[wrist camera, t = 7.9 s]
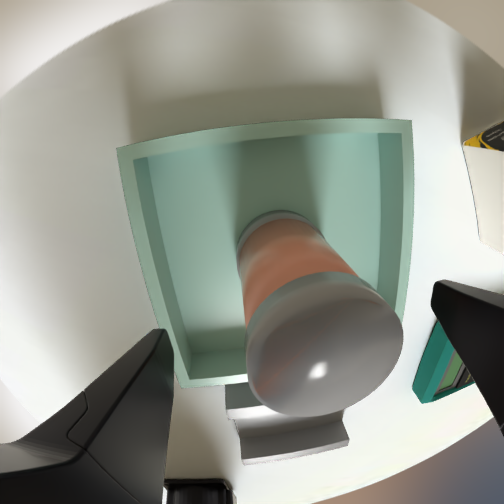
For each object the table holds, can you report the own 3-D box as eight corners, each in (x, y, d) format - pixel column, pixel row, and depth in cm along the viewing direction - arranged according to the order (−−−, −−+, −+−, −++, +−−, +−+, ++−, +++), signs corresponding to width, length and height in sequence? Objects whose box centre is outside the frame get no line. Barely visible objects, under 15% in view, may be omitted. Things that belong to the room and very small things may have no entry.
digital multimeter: (507, 348, 22) (522, 362, 19) (406, 387, 21) (421, 411, 18) (530, 288, 19) (549, 301, 16) (430, 315, 18) (453, 338, 15)
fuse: (241, 296, 15) (256, 426, 8) (230, 216, 14) (235, 310, 6) (322, 284, 15) (389, 396, 8) (319, 204, 14) (413, 279, 6)
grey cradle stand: (241, 441, 20) (243, 465, 18) (225, 381, 18) (225, 410, 15) (339, 423, 21) (347, 445, 18) (347, 360, 18) (360, 385, 16)
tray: (185, 358, 17) (181, 388, 14) (134, 146, 12) (116, 148, 10) (379, 326, 17) (396, 349, 15) (384, 121, 13) (411, 119, 10)
